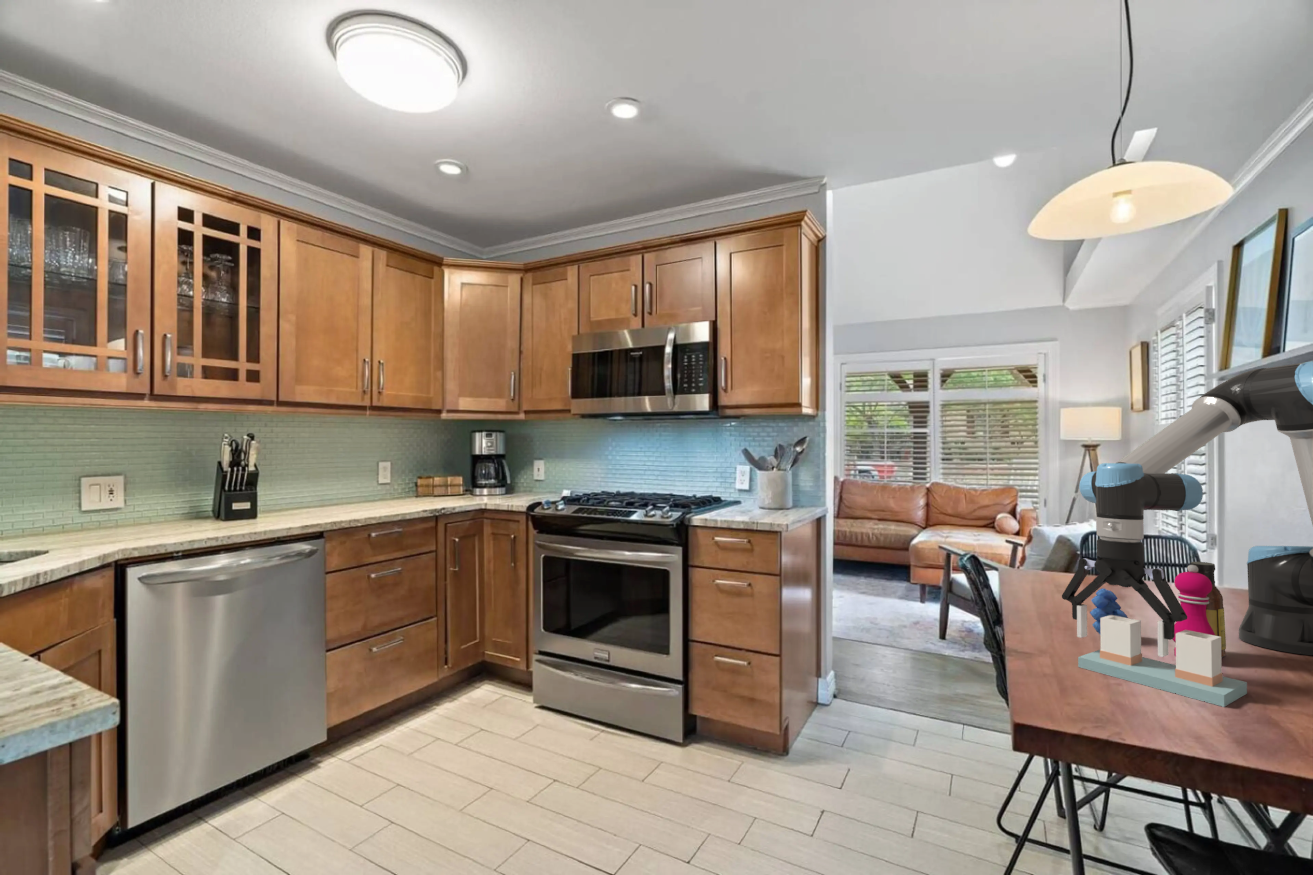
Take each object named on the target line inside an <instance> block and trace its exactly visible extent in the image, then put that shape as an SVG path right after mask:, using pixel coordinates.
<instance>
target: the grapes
mask: <svg viewBox="0 0 1313 875" xmlns="http://www.w3.org/2000/svg"><path fill="white" fill-rule="evenodd" d="M1117 600H1118V597H1117V595H1116V594H1115V592H1113V591H1112V590H1108V589H1106V588H1104V587H1103V588H1099V589H1098V590H1096V591H1095V596H1094V597H1092V598H1091V600H1090V601H1091V602H1092V604H1093V605H1094V606H1095V608H1093V609H1091V611H1089V614H1090V615H1091V617H1092V618H1093V620H1095V621H1094V622H1093V623H1092V627H1093V629H1094V630H1095V631H1096V632H1097V633H1098V634H1099V637H1101V632H1100V618H1102V617H1105V616H1109V615H1115V616H1120V617H1125V618H1129V617H1128V615H1127V614H1126V613H1125V611H1123V609H1122V606H1121V605H1120V604H1119V603H1118V602H1117Z"/></svg>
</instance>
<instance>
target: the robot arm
mask: <svg viewBox="0 0 1313 875" xmlns="http://www.w3.org/2000/svg"><path fill="white" fill-rule="evenodd" d="M1260 421H1274V422H1275V426H1276V430H1277V432H1278V433H1280V434H1283V435H1285V436H1286V437H1288V438H1289V439H1290V444H1291V447H1292V451H1293V455H1294V459H1295V463H1296V466H1297V471H1298V474H1299V478H1300V483H1301V486H1302V490H1303V494H1304V498H1305V502H1306V505H1307V509H1308V513H1309V517H1310V521H1311V525H1312V526H1313V360H1311V361H1310V360H1309V361H1306V362H1299V363H1298V362H1297V363H1291V364H1286V365H1278V366H1273V367H1263V368H1257V369H1256V368H1255V369H1252V370H1248V371H1244V372H1242V373H1239V374H1237V375H1235V376H1232V377H1231V378H1229V379H1228V380H1225V381H1224V382H1221V383H1219V384H1218V385H1216V386H1214V387H1213V388H1212V389H1210V390H1209V391H1206V392H1205V393H1204V394H1202V395H1201V396H1199V397H1198V398H1197V399H1195V400H1194V401H1193V402H1192V404H1191V409H1189V410H1188V411H1187V412H1186V413H1184V414H1182V415H1181V416H1180V417H1178V418H1177V419H1175V420H1174V421H1173V422H1171V423H1170V424H1168V425H1167V426H1166V427H1164V428H1163V429H1162V430H1160V431H1159V432H1156V434H1154V435H1153V436H1152V437H1150V438H1149V439H1148V440H1146V441H1145V442H1143V443H1142V444H1141V445H1138V446H1137V447H1136V448H1134V449H1133V450H1132V451H1130V452H1129V453H1128V454H1126V455H1125V456H1123V457H1122V458H1121V459H1119V460H1118V461H1117V462H1115V463H1114V462H1103V463H1100V464H1098V465H1097V467H1096V471H1090V472H1087V473H1085V474H1084V475H1083V476H1082V477H1081V479H1080V481H1079V485H1078V488H1079V493H1080V494H1081V496H1082V497H1083V499H1084V500H1086V501H1087V502H1089V503H1092V504H1095V505H1096V507H1095V508H1096V536H1098V537H1100V538H1097V539H1096V560H1092V559H1090V558H1088V557H1086V558H1080V559H1079V560H1078V564H1077V570H1076V571H1075V573H1074V574H1073V575H1072V577H1071V580H1070V581H1069V583H1068V584H1067V586H1066V588H1065V590H1064V591H1063V593H1062V594H1061V598H1062V599H1063V601H1064V600H1065V601H1068V602H1069V603H1071V606H1072V607H1071V610H1072V611H1071V612H1072V613H1071V614H1072V616H1071V617H1072V619H1073V620H1076V638H1080V639H1082V638H1087V637H1088V605H1087V604H1084V601H1086V600H1087V599H1088V598H1090V597H1091V596H1092V595H1093V594H1094V593H1096V592H1097V591H1098V590H1100V589H1101V587H1102V586H1103V585H1105V584H1108V585H1110V586H1120V587H1122V588H1132V589H1134V591H1135V592H1137V593H1138V594H1139V595H1140V596H1141V598H1143V600H1144V601H1145V602H1146V603H1147V604H1148V606H1149V607H1150V608H1151V609H1152V610H1153V612H1155V613H1156V614H1157V616H1158V617H1159V618H1160V619H1161V620H1158V621H1157V656H1158V657H1161V658H1164V657H1166V656H1169V641H1171V640H1172V641H1173V638H1174V637H1175V634H1174V633H1175V628H1174V625H1175V623H1176V622H1178V621H1179V622H1180V621H1183V620H1186V619H1187V615H1186V613H1185V612H1184V610H1183V608H1182V606H1181V603H1180V602H1179V600H1178V597H1177V596H1176V594H1175V593H1174V591H1173V589H1172V588H1171V585H1169V582H1168V581H1167V577H1166V571H1165V569H1164V568H1162V567H1158V568H1147V567H1146V566H1145V561H1144V559H1145V548H1144V547H1145V545H1144V543H1143V542H1142V541H1141V540H1144V537H1145V535H1144V533H1145V532H1144V515H1145V514H1144V511H1173V512H1180V511H1190V510H1193V509H1195V508H1197V507H1198V506H1199V505H1200V504H1201V503H1202V500H1203V496H1204V494H1203V493H1204V492H1203V487H1202V485H1201V483H1200V481H1199V480H1198V479H1197V478H1195V477H1194V476H1192V475H1191V474H1186V473H1185V474H1184V473H1176V472H1175V473H1173V472H1171V473H1169V471H1170V470H1172V469H1173V468H1174V467H1175V466H1177V465H1178V464H1180V463H1181V462H1182V461H1185V459H1187V458H1188V457H1190V456H1191V455H1193V454H1194V453H1196V452H1197V451H1198V450H1199V449H1201V448H1202V447H1204V446H1206V445H1207V444H1208V443H1210V442H1211V441H1212V440H1214V439H1215V438H1216V437H1218V436H1220V435H1221V434H1222V433H1230V432H1234V431H1235V430H1237V429H1238V428H1239V427H1241V426H1243V425H1246V424H1248V423H1254V422H1260ZM1246 565H1247V567H1246V568H1247V587H1248V588H1247V589H1248V590H1247V593H1248V595H1247V596H1248V608H1247V610H1246V612H1245V614H1244V616H1243V618H1242V620H1241V623H1240V625H1239V628H1238V639H1239V640H1241V641H1242V642H1245V643H1247V644H1250V645H1254V646H1258V647H1261V648H1265V649H1270V650H1275V651H1280V652H1285V653H1290V654H1298V655H1306V656H1313V546H1312V545H1310V546H1308V545H1305V546H1304V545H1302V546H1301V545H1255V546H1252V547H1250V548H1249V550H1248V554H1247V562H1246ZM1093 568H1094V569H1095V570H1096V572H1098V574H1099V575H1097V576H1096V577H1095V578H1094V579H1093V580H1092V581H1091V582H1090V583H1089V584H1088V585H1087V586H1086V587H1084V588H1083V589H1082V590H1081V591H1080V592H1078V591H1079V588H1080V587H1081V585H1082V584H1083V582H1084V580H1085V579H1086V577H1087V575H1088V574H1089V572H1090V571H1091V570H1093ZM1146 575H1147V576H1148V577H1149V578H1150V580H1152V581H1153V583H1154V585H1155V587H1156V588H1157V591H1158V592H1159V594H1160V596H1161V597H1162V599H1163V601H1164V603H1165V604H1166V605H1165V604H1164V603H1163V602H1162V601H1161V600H1160V599H1159V598H1158V597H1157V596H1156V594H1155V593H1154V592H1153V591H1152V590H1151V588H1150V587H1149V585H1148V584H1147V583H1146V581H1145V580H1144V579H1143V578H1144V577H1145V576H1146ZM1077 592H1078V593H1077ZM1076 593H1077V594H1076ZM1166 606H1167V607H1166Z"/></svg>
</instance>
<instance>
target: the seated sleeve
mask: <svg viewBox="0 0 1313 875" xmlns="http://www.w3.org/2000/svg"><path fill="white" fill-rule="evenodd" d="M1175 647H1176V657H1175V665H1176V669H1175V677H1177V678H1181V679H1185V680H1189V681H1192V682H1196V683H1200V684H1204V685H1208V686H1212V687H1213V686H1215V685H1216V684H1218V683H1220V682H1222V681H1223V677H1224V676H1223V675H1224V674H1223V672H1222V657H1221V637H1220V636H1215V635H1210V634H1205V633H1200V632H1195V631H1190V630H1184V631H1181V632H1178V633H1176V643H1175Z"/></svg>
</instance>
